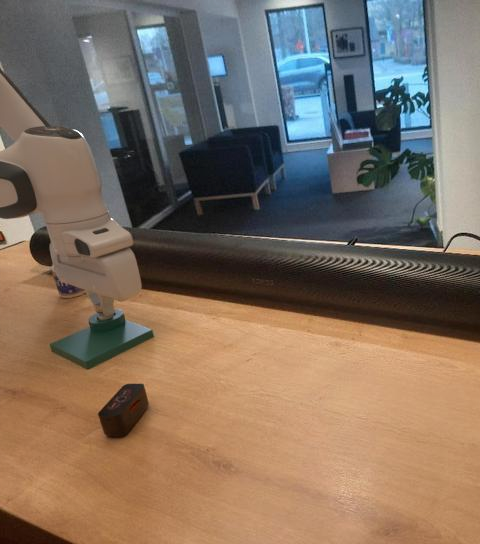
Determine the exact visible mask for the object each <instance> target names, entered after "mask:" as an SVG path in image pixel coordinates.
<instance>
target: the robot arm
mask: <svg viewBox="0 0 480 544" xmlns="http://www.w3.org/2000/svg"><path fill="white" fill-rule="evenodd" d="M0 128H1V129H2V130H3V131H4V133H6V135H7V136H8V137H9V138H10V139H11V140H12V141H13V142H14V143H12V144H11V145H10V146H8V147H6V148H5V149H3V150H1V151H0V219H1V220H2V219H3V220H12V219H21V218H25V217H28V216H31V215H33V214H40V215H41V216H42V217H43V220H44V224H45V227H46V230H47V233H48V236H49V240H50V242H49V252H50V257H51V262H52V263H51V264H52V265H53V266H54V270H55V274H56V276H57V277H58V279H59V280H60V281H61V282H63V283H66V284H69V285H72V286H75V287H78V288H81V289H84V290H85V292H86V293H85V295H86V296H87V297H88V299H89V300H90V302H91V304H92V305H93V308H94V312H95V314H96V313H99V314H101V315H104V316H107V317H108V316H110V315H112V314H114V313H115V309H116V308H115V306H114V302H115V301H117V302H120V303H123V302H126V301H128V300H131V299H133V298H135V297H138V296H139V295H140V294H141V292H142V288H143V285H142V278H141V274H140V270H139V266H138V261H137V258H136V255H135V253H134V252H133V250H132V249H131V248H130V247H133V245H134V239H133V236H132V233H131V232H130V231H129V230H127V229H125V228H124V227H122V226H121V225H120V224H118V223H117V221H115V220H114V219H113V218H111V214H110V210H109V207H108V205H107V204H106V202H105V200H104V198H103V193H102V180H101V176H100V172H99V168H98V165H97V162H96V159H95V157H94V154H93V151H92V149H91V147H90V145H89V143H88V141H87V139H86V138H85V136H84V135H83V134H82V133H81V132H80V131H78V130H76V129H73V128H71V127H65V126H58V125H53V126H52V125H51V124H50V123H49V122H48V121H47V120H46V119H45V117H44V116H43V115H42V114H41V113H40V112H39V110H38V109H37V108H36V107H35V106H34V105H33V103H32V102H31V101H30V100H29V99H28V98H27V97H26V95H25V94H24V93H23V92H22V91H21V89H20V88H19V87H18V86H17V85H16V84H15V83H14V81H12V80H11V78H10V77H9V76H8V75H7V74H6V73H5V72H4V71H3V69H2V68H0Z"/></svg>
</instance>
